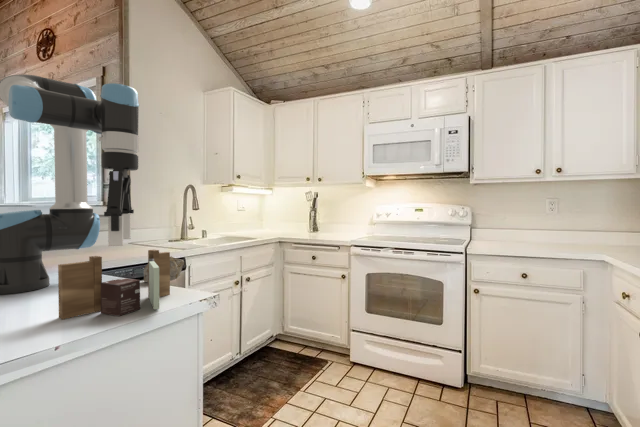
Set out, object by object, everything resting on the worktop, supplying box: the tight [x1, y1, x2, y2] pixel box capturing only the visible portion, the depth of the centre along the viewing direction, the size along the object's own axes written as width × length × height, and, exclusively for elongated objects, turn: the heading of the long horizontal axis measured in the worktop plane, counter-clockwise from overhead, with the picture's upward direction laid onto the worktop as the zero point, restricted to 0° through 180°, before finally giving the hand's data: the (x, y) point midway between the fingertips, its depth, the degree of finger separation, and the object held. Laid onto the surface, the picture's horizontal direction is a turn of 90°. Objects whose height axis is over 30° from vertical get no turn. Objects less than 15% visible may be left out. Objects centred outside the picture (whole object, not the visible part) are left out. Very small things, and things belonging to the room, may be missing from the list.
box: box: [100, 277, 141, 317], centre depth 82 cm, size 6×6×7 cm
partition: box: [57, 249, 171, 320], centre depth 87 cm, size 3×26×13 cm, turn 147°
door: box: [148, 259, 160, 310], centre depth 88 cm, size 12×1×11 cm, turn 32°
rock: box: [143, 255, 185, 283], centre depth 115 cm, size 12×7×10 cm, turn 129°
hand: (120, 242), depth 82 cm, fingers open, 13 cm apart
